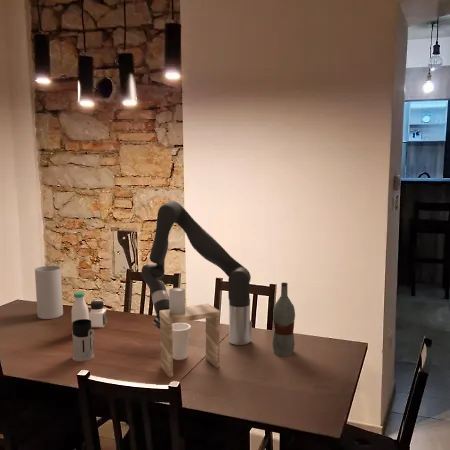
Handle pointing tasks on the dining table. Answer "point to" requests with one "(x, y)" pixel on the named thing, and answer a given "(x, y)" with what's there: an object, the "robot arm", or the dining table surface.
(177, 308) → the beige upright cylinder
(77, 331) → the glass holder
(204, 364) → the dining table surface
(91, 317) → the medicine bottle
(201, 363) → the dining table surface
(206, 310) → the beige hollow frame
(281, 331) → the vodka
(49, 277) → the cylinder vase
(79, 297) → the milk bottle
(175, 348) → the foam cup
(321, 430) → the dining table surface
